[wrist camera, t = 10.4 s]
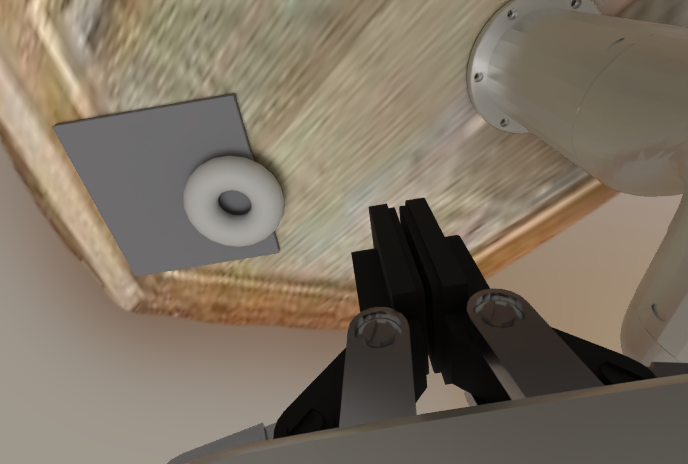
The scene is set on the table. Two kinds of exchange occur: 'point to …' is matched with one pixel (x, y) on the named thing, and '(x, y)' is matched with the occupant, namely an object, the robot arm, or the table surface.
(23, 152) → the table surface
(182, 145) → the mat
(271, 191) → the donut
